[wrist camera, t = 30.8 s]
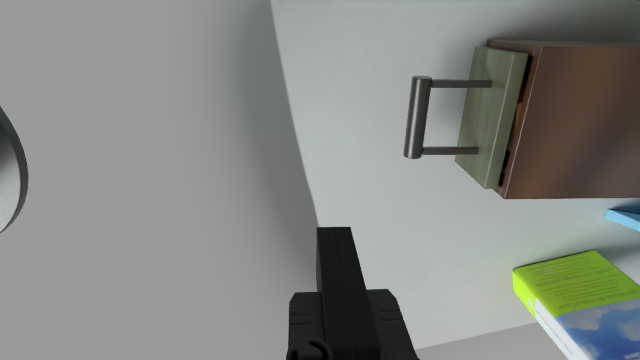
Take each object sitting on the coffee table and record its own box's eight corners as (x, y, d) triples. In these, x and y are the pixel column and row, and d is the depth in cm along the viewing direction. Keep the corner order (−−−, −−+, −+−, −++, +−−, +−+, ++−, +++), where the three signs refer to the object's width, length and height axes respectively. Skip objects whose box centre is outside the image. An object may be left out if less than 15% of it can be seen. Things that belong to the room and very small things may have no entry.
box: (511, 291, 48) (617, 427, 32) (510, 266, 46) (621, 397, 30) (593, 272, 47) (742, 400, 31) (595, 246, 45) (753, 368, 30)
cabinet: (463, 163, 40) (504, 199, 32) (486, 39, 35) (542, 45, 27) (592, 162, 41) (662, 197, 33) (633, 41, 35) (728, 48, 28)
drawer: (390, 161, 38) (408, 189, 32) (402, 45, 34) (426, 52, 27) (577, 160, 39) (629, 187, 33) (613, 48, 35) (681, 55, 29)
